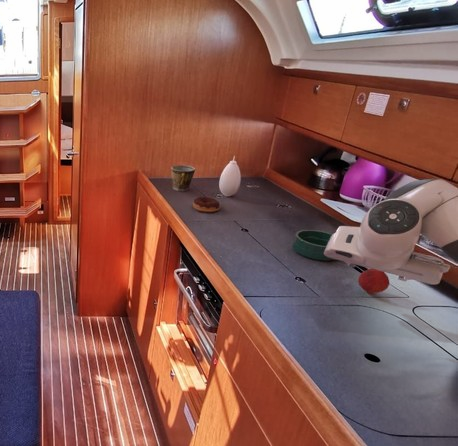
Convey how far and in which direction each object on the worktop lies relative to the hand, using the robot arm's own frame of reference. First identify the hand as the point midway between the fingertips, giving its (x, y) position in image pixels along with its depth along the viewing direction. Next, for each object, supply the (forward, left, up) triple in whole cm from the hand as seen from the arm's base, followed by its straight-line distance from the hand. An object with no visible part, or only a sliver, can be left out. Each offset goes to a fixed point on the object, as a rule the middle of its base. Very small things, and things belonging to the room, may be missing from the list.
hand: (376, 270), depth 95 cm
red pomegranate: (-2, -6, -10) cm, 11 cm away
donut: (+38, -55, -10) cm, 67 cm away
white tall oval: (+30, -74, -10) cm, 80 cm away
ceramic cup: (+49, -76, -10) cm, 90 cm away
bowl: (+6, -27, -9) cm, 29 cm away
